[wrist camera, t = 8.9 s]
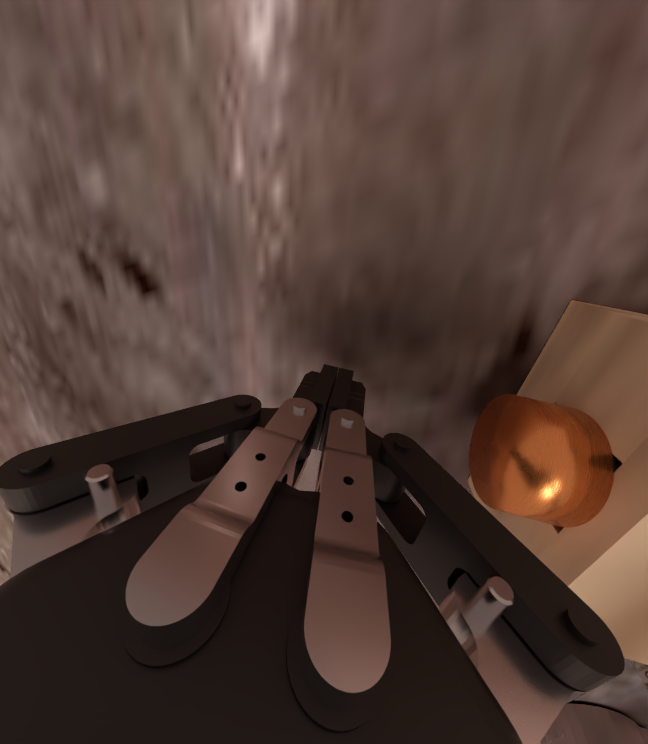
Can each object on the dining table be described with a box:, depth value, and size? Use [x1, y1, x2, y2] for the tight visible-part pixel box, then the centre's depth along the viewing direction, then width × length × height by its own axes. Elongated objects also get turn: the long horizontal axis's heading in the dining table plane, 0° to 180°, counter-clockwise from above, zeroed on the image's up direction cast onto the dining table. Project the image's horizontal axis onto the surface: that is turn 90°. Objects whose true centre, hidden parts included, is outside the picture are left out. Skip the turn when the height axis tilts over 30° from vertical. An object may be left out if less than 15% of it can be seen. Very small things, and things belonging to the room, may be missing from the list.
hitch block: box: [468, 300, 648, 665], centre depth 11 cm, size 8×12×8 cm, turn 170°
